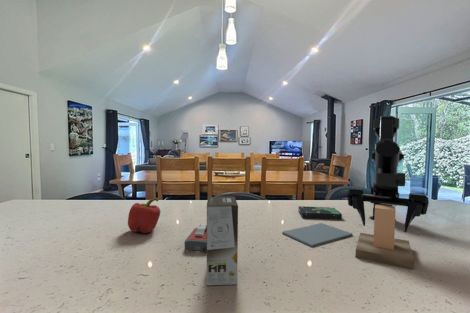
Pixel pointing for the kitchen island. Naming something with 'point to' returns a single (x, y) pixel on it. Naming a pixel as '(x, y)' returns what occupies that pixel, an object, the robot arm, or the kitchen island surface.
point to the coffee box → (222, 240)
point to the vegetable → (143, 216)
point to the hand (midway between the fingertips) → (384, 228)
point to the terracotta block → (384, 226)
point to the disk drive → (319, 213)
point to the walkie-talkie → (197, 239)
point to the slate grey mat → (316, 234)
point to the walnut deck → (385, 252)
